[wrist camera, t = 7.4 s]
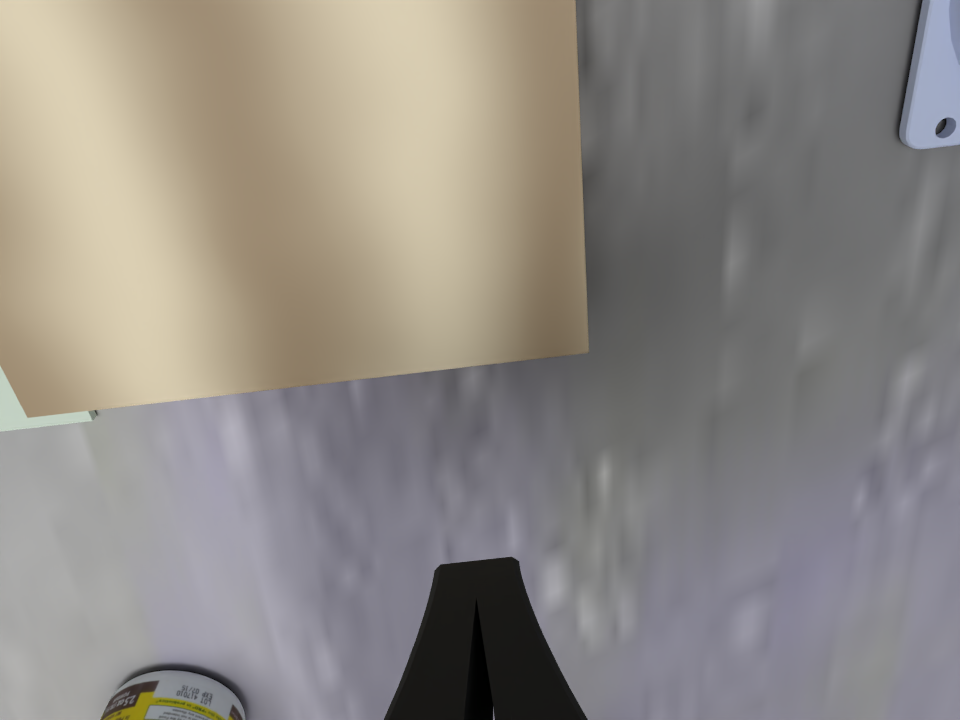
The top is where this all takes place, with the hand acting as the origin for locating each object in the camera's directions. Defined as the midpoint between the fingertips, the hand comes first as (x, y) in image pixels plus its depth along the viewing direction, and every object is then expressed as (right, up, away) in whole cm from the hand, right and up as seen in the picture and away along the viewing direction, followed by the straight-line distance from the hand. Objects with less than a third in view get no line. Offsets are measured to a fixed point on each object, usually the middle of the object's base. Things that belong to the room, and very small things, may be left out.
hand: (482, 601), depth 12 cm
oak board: (-5, +12, +5) cm, 14 cm away
